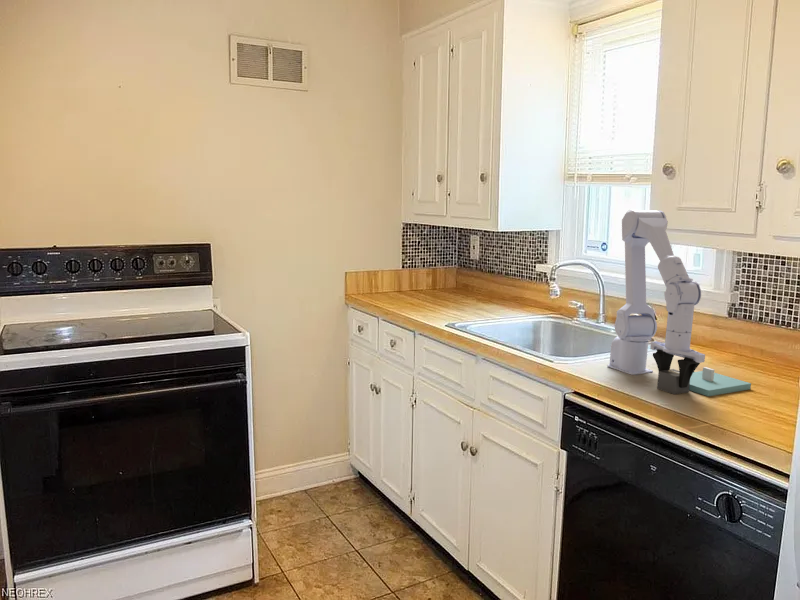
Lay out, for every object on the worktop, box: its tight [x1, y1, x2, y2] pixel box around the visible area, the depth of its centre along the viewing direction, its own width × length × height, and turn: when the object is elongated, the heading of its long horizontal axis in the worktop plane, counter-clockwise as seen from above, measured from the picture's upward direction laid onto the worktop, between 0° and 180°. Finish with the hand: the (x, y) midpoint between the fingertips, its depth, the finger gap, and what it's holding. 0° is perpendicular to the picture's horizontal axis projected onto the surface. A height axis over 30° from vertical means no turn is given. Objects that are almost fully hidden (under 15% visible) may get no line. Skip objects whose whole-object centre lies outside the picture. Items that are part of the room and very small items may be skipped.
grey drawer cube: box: [656, 368, 690, 395], centre depth 160 cm, size 5×5×5 cm
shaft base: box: [689, 366, 752, 397], centre depth 165 cm, size 13×16×4 cm
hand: (673, 383), depth 160 cm, fingers closed on grey drawer cube, 5 cm apart
